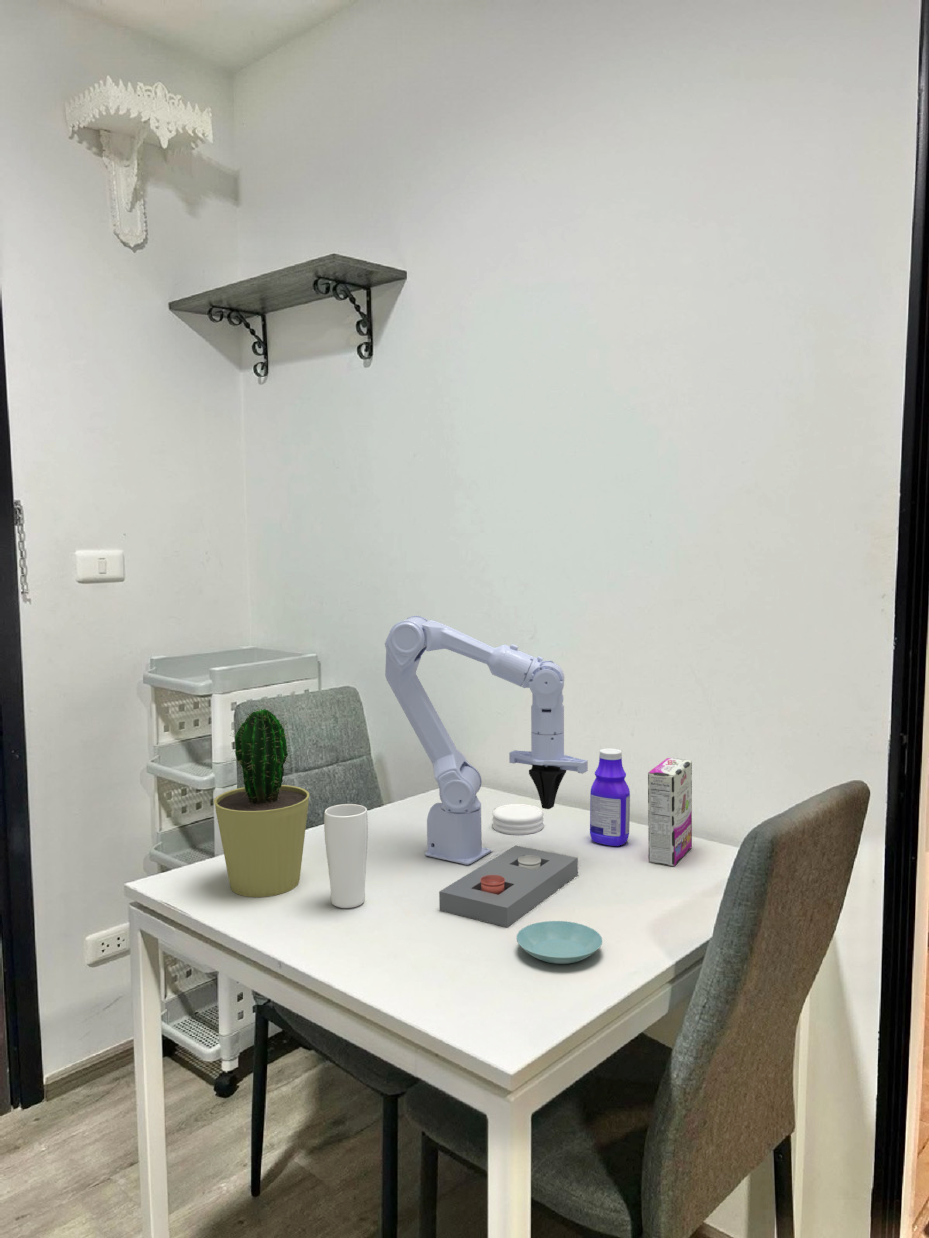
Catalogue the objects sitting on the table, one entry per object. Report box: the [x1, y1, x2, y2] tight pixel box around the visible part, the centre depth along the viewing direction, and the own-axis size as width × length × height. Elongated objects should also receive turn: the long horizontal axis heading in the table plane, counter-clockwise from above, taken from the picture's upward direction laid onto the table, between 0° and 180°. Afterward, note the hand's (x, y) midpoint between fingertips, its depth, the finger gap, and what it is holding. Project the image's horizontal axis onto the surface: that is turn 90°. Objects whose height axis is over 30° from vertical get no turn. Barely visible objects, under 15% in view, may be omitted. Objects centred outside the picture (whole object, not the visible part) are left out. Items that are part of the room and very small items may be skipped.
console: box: [438, 845, 579, 928], centre depth 148 cm, size 24×12×3 cm, turn 148°
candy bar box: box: [647, 757, 693, 867], centre depth 164 cm, size 11×5×16 cm, turn 150°
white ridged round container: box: [491, 803, 544, 836], centre depth 181 cm, size 10×10×4 cm
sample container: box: [518, 855, 541, 870], centre depth 153 cm, size 4×4×3 cm
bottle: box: [589, 747, 631, 847], centre depth 171 cm, size 7×6×17 cm
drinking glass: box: [323, 803, 369, 909], centre depth 144 cm, size 7×7×15 cm
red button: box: [481, 875, 505, 895], centre depth 143 cm, size 4×4×3 cm
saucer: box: [516, 920, 603, 965], centre depth 127 cm, size 12×12×2 cm
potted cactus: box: [213, 707, 310, 898], centre depth 152 cm, size 15×15×30 cm
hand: (547, 807), depth 162 cm, fingers closed
